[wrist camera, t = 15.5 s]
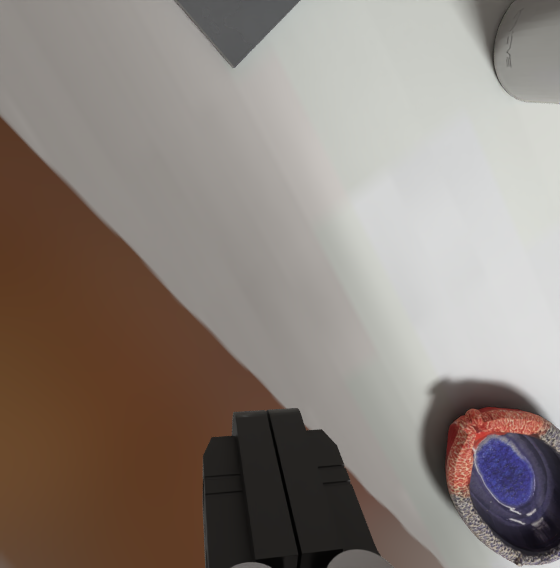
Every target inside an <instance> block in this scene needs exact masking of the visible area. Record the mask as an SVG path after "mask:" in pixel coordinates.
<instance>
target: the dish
mask: <svg viewBox="0 0 560 568" xmlns="http://www.w3.org/2000/svg"><path fill="white" fill-rule="evenodd" d="M445 473H446V480H447V487H448V491H449V494H450V497H451V499H452V502H453V504H454V506H455V508H456V510H457V511H458V513H459V515H460V516H461V518H462V519H463V521H464V522H465V524H466V525H467V526H468V528H469V529H470V530H471V532H472V533H473V534H474V535H475V536H476V537H477V538H478V539H479V540H480V541H481V542H483V543H484V544H485V545H486V546H487V547H489V548H490V549H491V550H493V551H494V552H496V553H498V554H499V555H501V556H503V557H504V558H506V559H507V560H509V561H511V562H513V563H515V564H516V565H518V566H523V565H542V564H547V563H551V562H554V561H556V560H558V559H560V430H559V429H558V428H556V427H555V426H554V425H553V424H552V423H551V422H549V421H547V420H546V419H544V418H542V417H541V416H539V415H536V414H533V413H530V412H525V411H522V410H519V409H507V408H497V407H484V408H481V409H478V410H477V409H470V410H468V411H467V412H466V413H465V415H463V416H460V417H459V418H458V419H456V420H455V421H454V422H453V423H452V424H451V425H450V427H449V431H448V442H447V450H446V458H445Z"/></svg>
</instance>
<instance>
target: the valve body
mask: <svg viewBox="0 0 560 568" xmlns="http://www.w3.org/2000/svg"><path fill="white" fill-rule="evenodd" d="M175 1H176V2H177V4H178V5H179V6H180V7H181V8H182V9H183V11H184V12H185V13H186V14H187V15H188V16H189V18H190V19H191V20H192V21H193V22H194V23H195V25H196V26H197V27H198V28H199V29H200V30H201V32H202V33H203V34H204V35H205V36H206V37H207V38H208V40H209V41H210V42H211V43H212V44H213V45H214V47H215V48H216V49H217V50H218V51H219V52H220V54H221V55H222V56H223V57H224V58H225V59H226V61H227V62H228V63H229V64H230V65H231V66H232V68H235V67H236V66H237V65H238V64H239V63H240V62H241V61H242V60H243V59H244V58H245V57H246V56H247V54H248V53H249V52H250V51H251V50H252V49H253V48H254V47H255V46H256V45H257V44H258V43H259V42H260V41H261V40H262V39H263V38H264V37H265V36H266V35H267V34H268V33H269V32H270V31H271V30H272V29H273V28H274V27H275V26H276V25H277V24H278V23H279V22H280V21H281V20H282V19H283V18H284V17H285V15H286V14H287V13H288V12H289V11H290V10H291V9H292V8H293V7H294V6H295V5H296V4H297V3H298V2H299V1H300V0H175Z"/></svg>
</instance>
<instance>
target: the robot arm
mask: <svg viewBox="0 0 560 568" xmlns="http://www.w3.org/2000/svg"><path fill="white" fill-rule="evenodd" d="M494 66H495V70H496V73H497V77H498V79H499V81H500V83H501V85H502V87H503V88H504V89H505V90H506V91H507V92H508V93H509V94H510V95H511V96H513V97H514V98H516V99H518V100H521V101H524V102H533V103H549V104H560V0H515V1H514V2H513V3H512V4H511V6H510V7H509V9H508V10H507V12H506V13H505V15H504V17H503V19H502V21H501V23H500V25H499V28H498V31H497V35H496V39H495V45H494ZM232 425H233V426H232V436H224V437H212V438H211V440H210V443H209V444H208V447H207V449H206V451H205V453H204V455H203V522H204V544H205V567H206V568H394V567H393V566H392V565H391V564H390V563H389V562H388V561H386V560H385V559H384V558H382V557H381V556H380V554H379V553H378V551H377V549H376V546H375V544H374V542H373V539H372V536H371V534H370V531H369V529H368V526H367V523H366V521H365V518H364V515H363V513H362V510H361V508H360V505H359V503H358V500H357V497H356V495H355V492H354V489H353V487H352V485H351V484H350V479H349V476H348V473H347V471H346V468H344V463H343V460H342V458H341V455H340V452H339V450H338V447H337V445H336V444H335V443H334V442H333V441H332V440H331V439H330V438H329V436H328V435H327V434H326V433H325V432H324V431H323V430H322V429H321V430H307V431H306V429H305V426H304V423H303V419H302V416H301V413H300V411H299V409H298V408H291V409H275V410H267V411H264V410H261V411H245V412H234V413H233V424H232Z"/></svg>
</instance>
